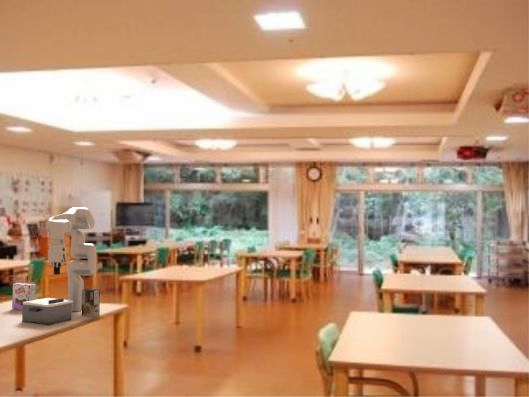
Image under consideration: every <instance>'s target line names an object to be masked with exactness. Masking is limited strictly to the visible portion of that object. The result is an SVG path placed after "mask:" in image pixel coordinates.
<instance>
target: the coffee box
mask: <svg viewBox="0 0 529 397" xmlns="http://www.w3.org/2000/svg"><path fill="white" fill-rule="evenodd" d="M100 295H101V289H100V288H99V289H98V288H84V290H82V311H81V317H88V318H89V317H90V318H96V317H100V314H101V313H100V309H101V308H100V306H101V305H100V304H101V303H100V302H101V296H100Z"/></svg>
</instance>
